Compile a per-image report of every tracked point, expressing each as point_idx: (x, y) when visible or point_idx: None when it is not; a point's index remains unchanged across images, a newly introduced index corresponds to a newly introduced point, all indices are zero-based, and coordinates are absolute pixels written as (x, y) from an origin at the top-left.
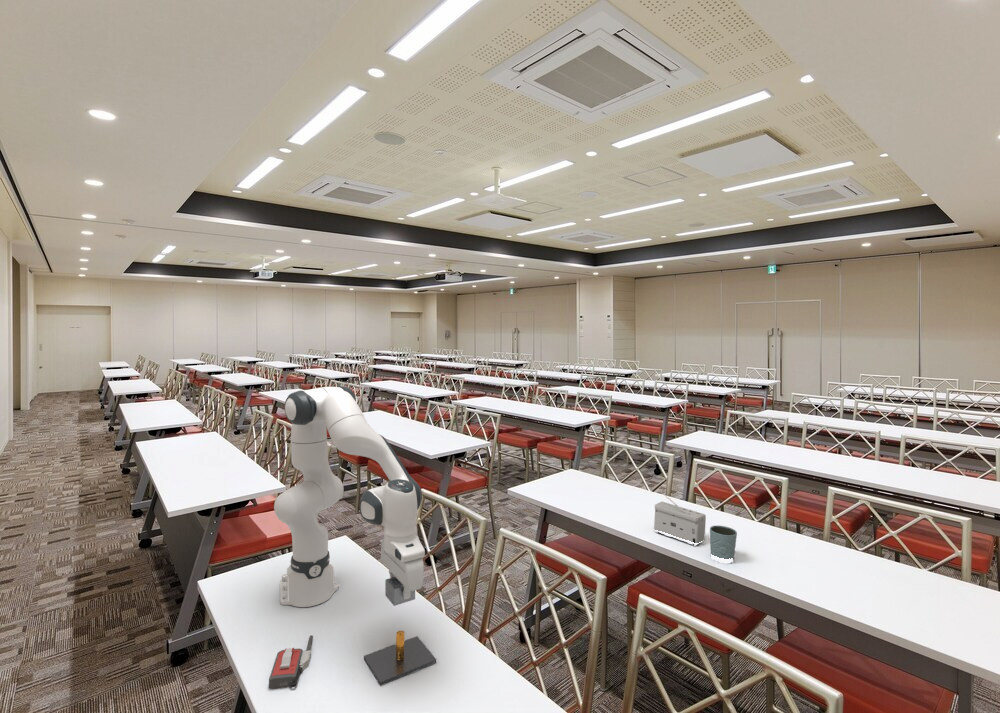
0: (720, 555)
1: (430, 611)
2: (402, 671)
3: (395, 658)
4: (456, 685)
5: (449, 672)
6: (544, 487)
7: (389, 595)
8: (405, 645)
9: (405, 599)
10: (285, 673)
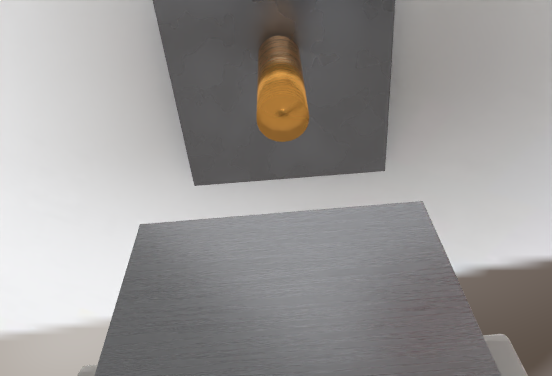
0: None
1: (517, 258)
2: (171, 34)
3: (282, 33)
4: (44, 193)
5: (123, 197)
6: None
7: (290, 258)
8: (351, 106)
9: (88, 369)
10: None
